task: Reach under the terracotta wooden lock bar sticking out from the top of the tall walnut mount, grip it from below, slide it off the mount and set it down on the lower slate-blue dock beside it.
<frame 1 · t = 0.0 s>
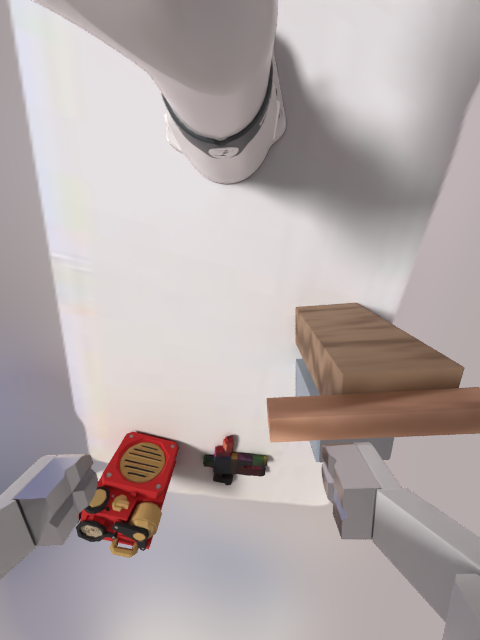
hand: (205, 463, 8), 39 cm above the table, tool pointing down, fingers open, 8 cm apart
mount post: (324, 323, 47), on the table
radio: (150, 447, 61), on the table
lock bar: (368, 404, 25), point 24 cm above the table, touching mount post
dock: (322, 377, 52), on the table
toy: (235, 459, 62), on the table
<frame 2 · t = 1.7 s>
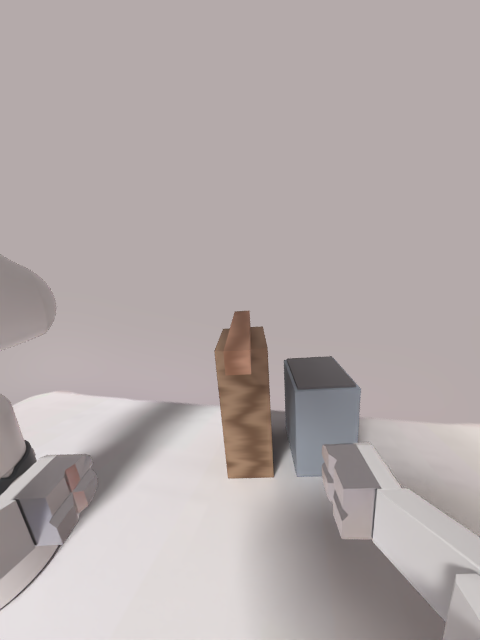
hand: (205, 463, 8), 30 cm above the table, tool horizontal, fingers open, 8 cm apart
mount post: (250, 450, 46), on the table
lock bar: (241, 342, 37), point 24 cm above the table, touching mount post
dock: (316, 448, 45), on the table
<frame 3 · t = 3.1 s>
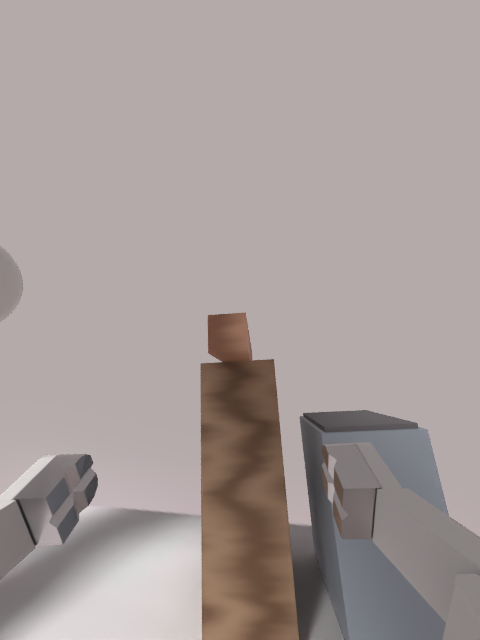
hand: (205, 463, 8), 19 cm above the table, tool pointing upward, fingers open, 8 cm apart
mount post: (252, 595, 24), on the table
lock bar: (238, 363, 28), point 24 cm above the table, touching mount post
dock: (378, 594, 24), on the table
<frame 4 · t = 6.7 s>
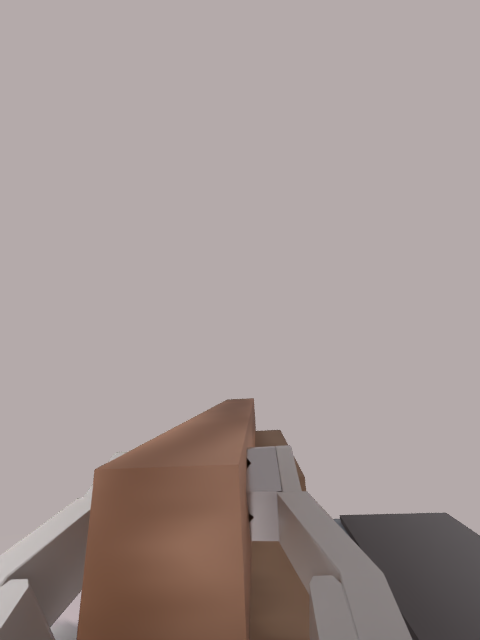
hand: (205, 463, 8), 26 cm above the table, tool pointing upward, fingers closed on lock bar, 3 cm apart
lock bar: (230, 460, 14), point 24 cm above the table, touching gripper, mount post
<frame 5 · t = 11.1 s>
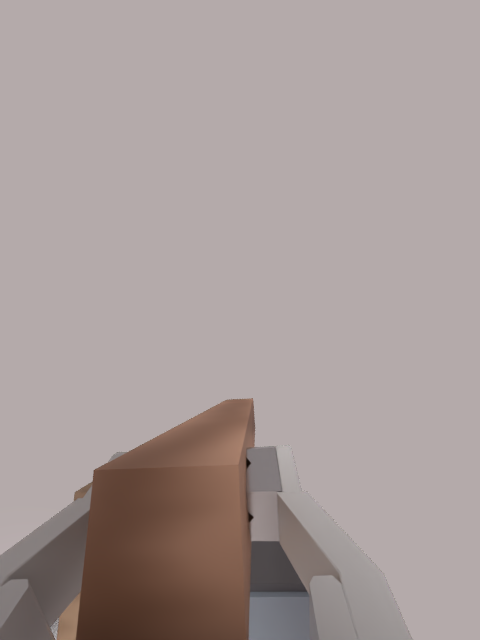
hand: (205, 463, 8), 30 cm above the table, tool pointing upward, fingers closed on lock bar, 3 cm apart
lock bar: (230, 460, 14), point 28 cm above the table, touching gripper
when the fingers open (20 cm above the table, at t = 16.0 s): lock bar drops 2 cm, resting on dock.
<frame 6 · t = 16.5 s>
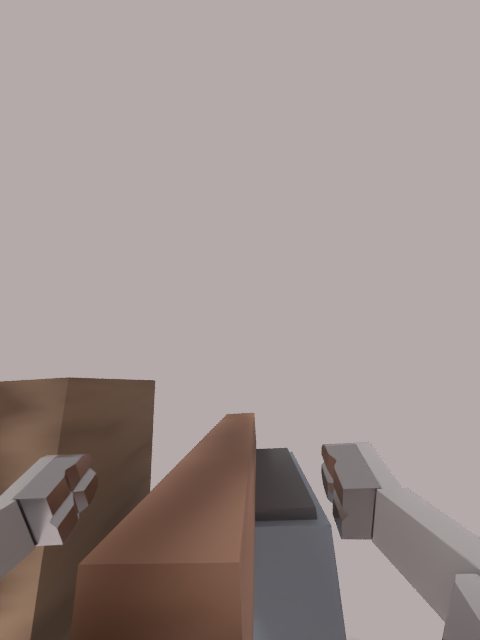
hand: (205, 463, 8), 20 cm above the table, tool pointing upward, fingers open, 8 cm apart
lock bar: (230, 488, 14), point 17 cm above the table, touching dock
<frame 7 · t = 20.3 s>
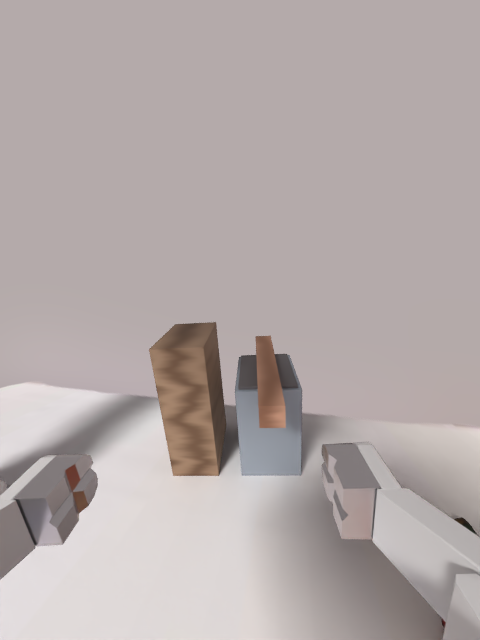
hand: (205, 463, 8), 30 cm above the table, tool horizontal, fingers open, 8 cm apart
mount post: (202, 447, 46), on the table
lock bar: (266, 377, 37), point 17 cm above the table, touching dock
dock: (268, 446, 45), on the table
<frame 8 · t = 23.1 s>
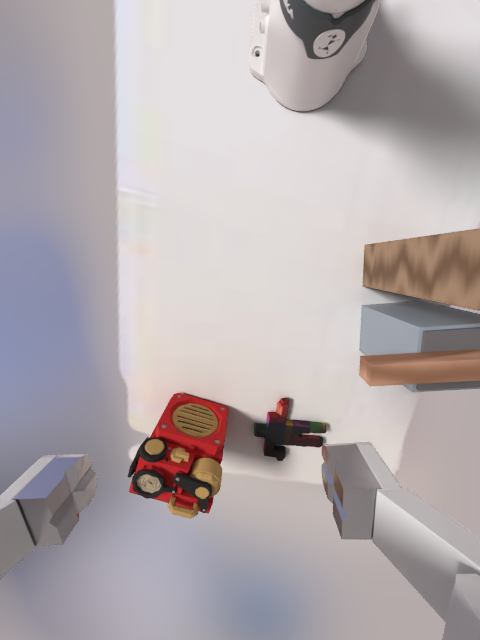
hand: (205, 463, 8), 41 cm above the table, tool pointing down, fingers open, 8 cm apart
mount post: (394, 263, 45), on the table
radio: (196, 413, 56), on the table
lock bar: (439, 361, 32), point 17 cm above the table, touching dock
dock: (389, 326, 48), on the table
toy: (288, 429, 56), on the table
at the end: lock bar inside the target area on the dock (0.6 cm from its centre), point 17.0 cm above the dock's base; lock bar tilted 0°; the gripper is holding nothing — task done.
